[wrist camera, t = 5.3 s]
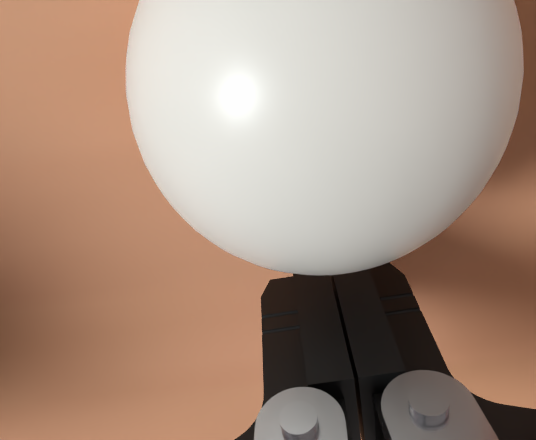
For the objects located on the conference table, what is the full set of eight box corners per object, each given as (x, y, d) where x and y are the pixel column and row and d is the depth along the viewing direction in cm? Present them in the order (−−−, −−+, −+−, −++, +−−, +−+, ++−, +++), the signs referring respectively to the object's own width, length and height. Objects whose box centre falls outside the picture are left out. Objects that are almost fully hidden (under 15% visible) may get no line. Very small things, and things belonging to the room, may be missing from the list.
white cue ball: (177, 358, 8) (185, 130, 11) (518, 315, 8) (421, 98, 11) (-22, 70, 3) (89, -160, 7) (771, -47, 3) (479, -224, 7)
